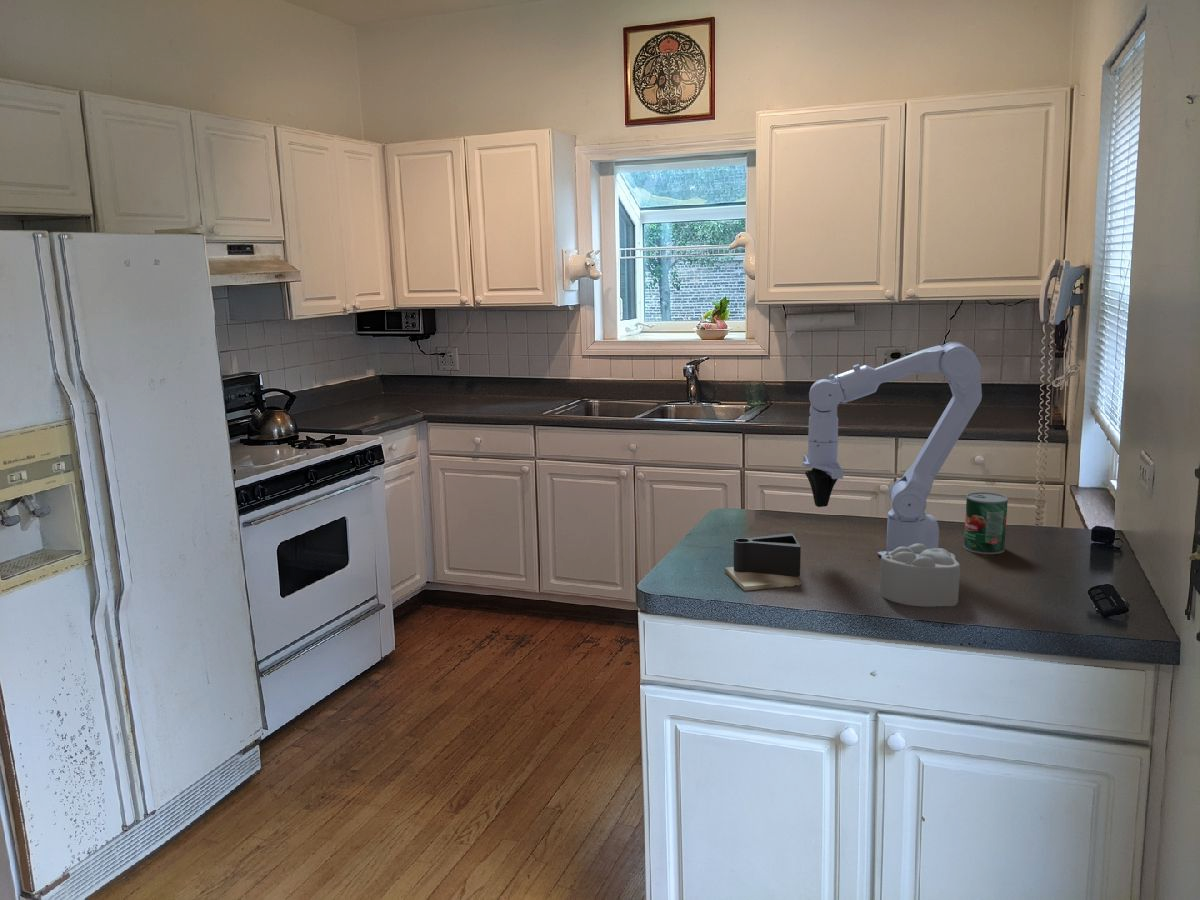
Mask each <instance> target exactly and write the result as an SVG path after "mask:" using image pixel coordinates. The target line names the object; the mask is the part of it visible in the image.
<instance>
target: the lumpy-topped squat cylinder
mask: <svg viewBox="0 0 1200 900" xmlns="http://www.w3.org/2000/svg"><path fill="white" fill-rule="evenodd" d="M880 558H881V559H880V576H879V577H880V578H879V579H880V580H879V581H880V583H879V595H880V597H882V598H883V599H886V600H888V601H891V602H894V603H898V604H902V605H907V606H915V607H928V608H929V606H930V608H932V606H933V608H935V606H939V608H941V607H940V606H949V607H954V606H956V605H955V604H957V603H959V593H960V592H959V589H960V573H961V572H960V570H961V564H960V563H959V561H957V560H956V559H957V558H956V555H955V554H954V553H952V552H951V551H950V552H949V551H948V550H946V549H945V548H941V547H940V548H939V547H938V548H933V549H928V548H927V547H926V546H925V545H924V544H920V543H916V544H913V545H911V546H909V547H898V548H896V549H894V550H893V551H890V552H887V553H885V554H883V555H882V557H881V556H880ZM953 605H954V606H953ZM957 605H958V604H957Z"/></svg>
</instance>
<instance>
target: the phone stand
mask: <svg viewBox="0 0 1200 900" xmlns="http://www.w3.org/2000/svg"><path fill="white" fill-rule="evenodd" d="M801 548H802V547H801V544H800V543H799V541H798V539H797V538H796V536H795V534H794V533H793V532H788V533H779V534H770V535H765V536H764V535H762V536H756V537H745V538H744V537H739V538H734V539H733V567H734V571H736V572H753V573H763V574H773V575H783V576H793V577H796V578H800V577H801V552H802V551H801Z"/></svg>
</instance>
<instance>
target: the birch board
mask: <svg viewBox="0 0 1200 900" xmlns="http://www.w3.org/2000/svg"><path fill="white" fill-rule="evenodd" d="M724 572H725V574H726V575H728V576H729V577H730V578H731V579H732V581H734V582H735V583H736V584H737V585H738V586H739V587H740V588H741V589H742V590H743V591H745V592H746V591H755V590H764V589H766V588H767V589H775V587H777V588H785V587H784V586H787V587H795V586H794V585H797V586H801V580H800V579H798V577H793V576H783V575H773V574H763V573H753V572H736V571H734V566H727V567H724Z"/></svg>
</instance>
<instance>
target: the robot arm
mask: <svg viewBox="0 0 1200 900" xmlns="http://www.w3.org/2000/svg"><path fill="white" fill-rule="evenodd" d="M939 370H940V371H941V372H942V374H943V375H944V376H945V377H946V379H947V382H948V383H947V384H948V385H949V386H948V387H949V388H950V391H951V394H952V397H951V398H950V401H949V402H948V404H947V405H946V406H945V409H944V411H942V414H941V416H940V417H939V418H938V420H937V423H936V424H935V425H934V427H933V429H932V431H931V432H930V434H929V436H928V438H927V439H926V441H925V442H924V445H923V446H922V448H921V449H920V451H919V453H918V454H917V456H916V458H915V460H914V461H913V463H912V465H910V467H909V468H908V469H907V470H906V471H904V473H903V476H901V478H899V479H898V480H896V481H894V482H893V483H892V485H891V486H890V489H889V493H888V494H889V495H888V496H889V499H890V501H891V509H890V510H889V511H888V512H887V524H886V526H887V527H886V550H885V551H877V555H878V556H880V558H881V557H882V555H883V554H885V553H887V552H890V551H893V550H894V549H896V548H898V547H909V546H911V545H913V544H916V543H920V544H924V545H925V546H926V547H927V548H928V549H933V548H939V540H940V538H939V537H940V528H939V527H940V526H939V523H938V520H937V519H936V518H935V517H934V516H933V515H932V514H926V509H927V498H928V497H929V495H930V493H931V491H932V488H933V484H934V481H935V478H936V477H937V476H938V474H939V472H940V470H941V468H942V467H943V465H944V463H945V462H946V460H947V458H948V457H949V455H950V453H951V452H952V450H953V449H954V447H955V445H956V443H957V442H958V440H959V438H960V437H961V435H962V433H963V432H964V430H965V428H966V427H967V425H968V424H969V421H970V420H971V419H972V417H973V415H974V414H975V412H976V410H977V408H978V407H979V405H980V403H981V402H982V398H983V391H982V390H983V389H982V376H981V375H982V373H981V371H982V366H981V364H980V362H979V360H978V358H977V356H976V354H975V352H973V350H972V349H970V348H968V347H967V346H966V345H965V344H963V343H961V342H959V341H950V342H947V343H945V344H943V345H934V346H932V347H931V346H930V347H928V348H925V349H921V350H918V351H916V352H914V353H911V354H909V355H905V356H904V357H901V358H898V359H895V360H893V361H891V362H888V363H886V364H882V365H881V366H877V367H876V368H875V367H874V368H873V367H872V366H869V365H866V364H863V365H862V366H860V363H858V364H854V365H853V366H852V369H850V370H847V371H844V372H842V373H839V374H836V375H835V374H834V373H831V374H829V375H828V378H829V379H826V378H821V379H818V380H816V381H815V382H814V383H813V384H812V385H811V387H810V389H809V392H808V399H809V402H810V407H809V415H810V416H809V417H808V435H807V436H808V438H807V439H808V443H807V446H808V447H807V448H808V449H807V454H802V463H801V465H802V466H803V467H805V468H806V467H807V468H811V469H810V470H805V472H804V473H805V476H806V478H807V479H808V481H809V484H810V488H811V492H812V496H813V501H814V505H815V506H816V507H817V508H823V507H828V505H829V502H830V498H831V495H832V491H833V489H834V486H835V485H836V483H837V481H838V480H843V479H844V469H843V468H842V467H841V464H840V463H839V461H838V447H839V446H838V445H839V443H838V441H839V439H838V438H839V417H838V405H840V403H843V404H846V403H849V402H852V401H855V400H857V399H860V398H864V397H866V396H869V395H872V394H874V393H876V392H877V390H878V388H879V386H880V385H881V384H883V383H887V382H890V381H894V380H897V379H900V378H903V377H906V376H910V375H914V374H917V373H920V372H923V373H928V374H929V373H930V374H932V375H933V374H934V375H939Z"/></svg>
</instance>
